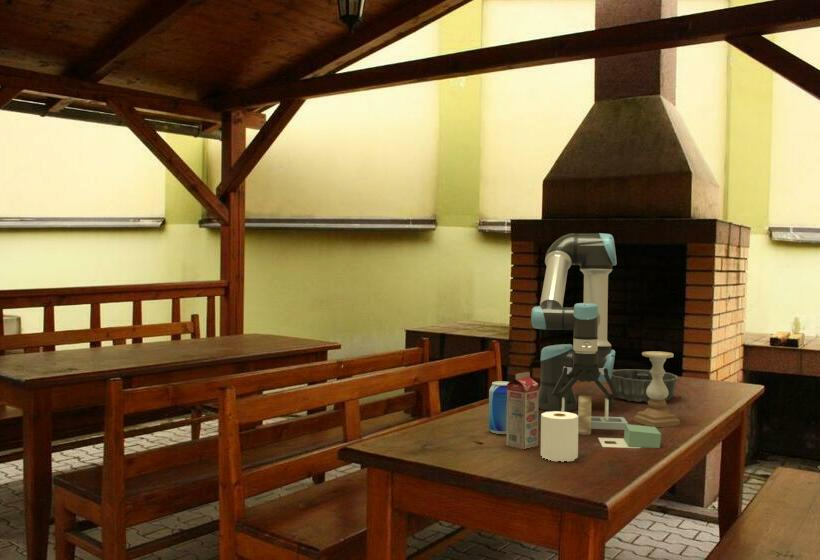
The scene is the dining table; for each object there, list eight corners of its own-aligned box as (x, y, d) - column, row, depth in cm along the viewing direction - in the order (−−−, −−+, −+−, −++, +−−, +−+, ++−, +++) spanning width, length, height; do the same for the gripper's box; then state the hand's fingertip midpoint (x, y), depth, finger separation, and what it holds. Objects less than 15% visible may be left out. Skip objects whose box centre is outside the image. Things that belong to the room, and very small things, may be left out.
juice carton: (506, 445, 226) (507, 372, 225) (520, 442, 231) (520, 370, 230) (524, 450, 222) (525, 375, 221) (538, 446, 226) (538, 372, 225)
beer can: (494, 436, 238) (495, 385, 237) (485, 430, 246) (485, 381, 245) (519, 434, 240) (519, 384, 239) (509, 428, 248) (509, 380, 247)
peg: (578, 435, 239) (579, 397, 239) (577, 432, 243) (577, 395, 242) (591, 436, 239) (592, 398, 238) (590, 433, 242) (590, 395, 242)
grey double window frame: (580, 429, 247) (580, 421, 247) (578, 423, 256) (578, 415, 256) (627, 430, 245) (628, 423, 245) (623, 424, 254) (623, 417, 254)
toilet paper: (584, 456, 215) (584, 414, 214) (565, 464, 207) (566, 420, 206) (553, 450, 221) (553, 409, 221) (533, 457, 214) (534, 415, 213)
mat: (602, 448, 224) (602, 446, 224) (597, 438, 235) (597, 437, 235) (640, 449, 223) (640, 448, 223) (634, 440, 234) (634, 438, 234)
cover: (628, 445, 224) (629, 430, 224) (623, 438, 233) (625, 424, 233) (659, 449, 223) (661, 434, 223) (653, 441, 232) (655, 427, 232)
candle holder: (633, 421, 260) (634, 351, 259) (659, 418, 264) (660, 350, 263) (654, 428, 249) (655, 356, 248) (681, 425, 253) (682, 354, 252)
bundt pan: (682, 396, 304) (683, 371, 304) (672, 408, 281) (672, 381, 281) (616, 390, 317) (616, 367, 316) (600, 402, 293) (601, 376, 293)
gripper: (546, 352, 237) (545, 420, 238) (627, 354, 234) (626, 422, 235) (544, 349, 245) (544, 415, 245) (623, 351, 242) (623, 417, 243)
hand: (584, 419), depth 240 cm, fingers open, 13 cm apart
